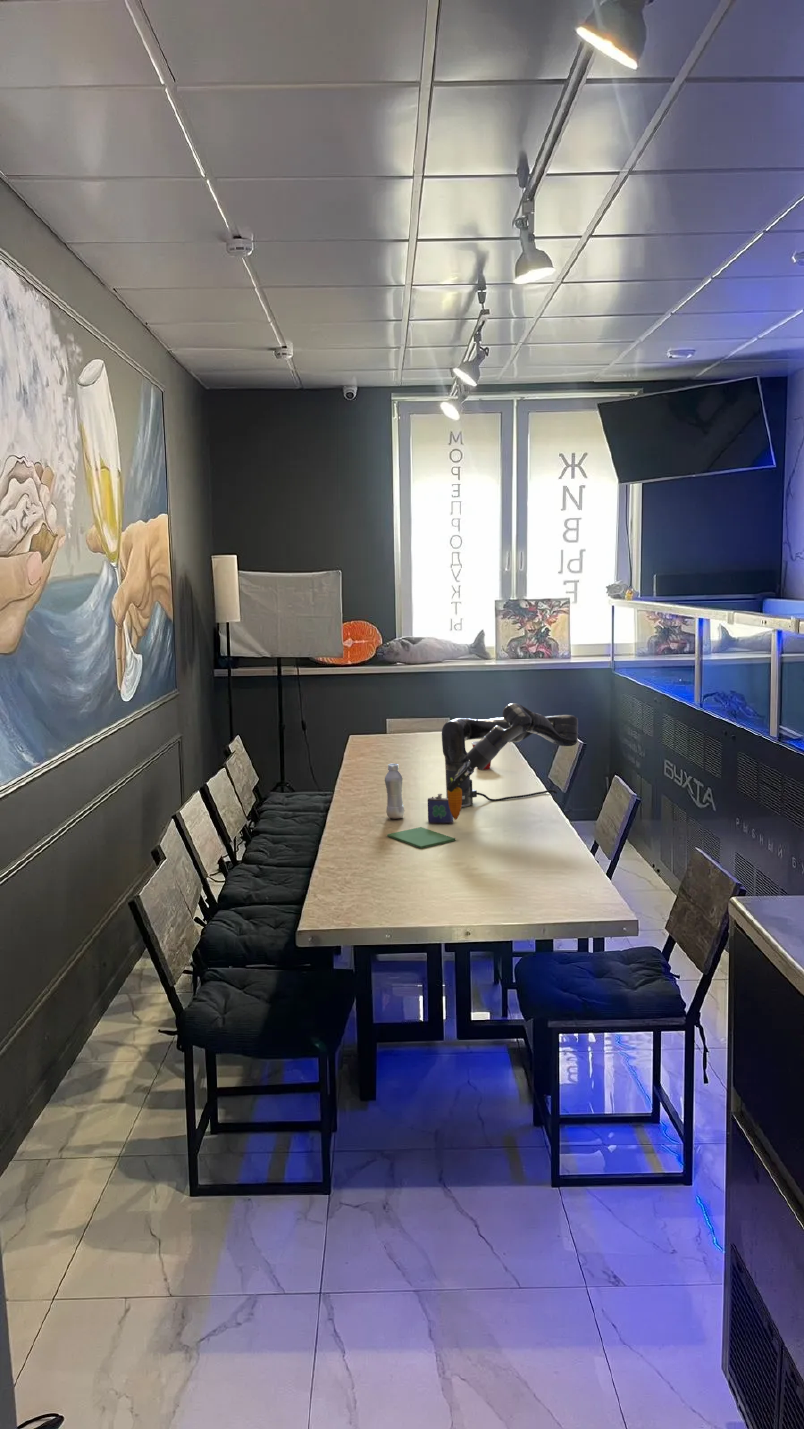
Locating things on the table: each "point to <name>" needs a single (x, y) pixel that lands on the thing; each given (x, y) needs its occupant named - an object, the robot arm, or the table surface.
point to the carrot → (455, 801)
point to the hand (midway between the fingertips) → (449, 788)
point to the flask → (439, 811)
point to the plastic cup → (489, 762)
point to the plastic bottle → (394, 792)
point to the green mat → (421, 837)
